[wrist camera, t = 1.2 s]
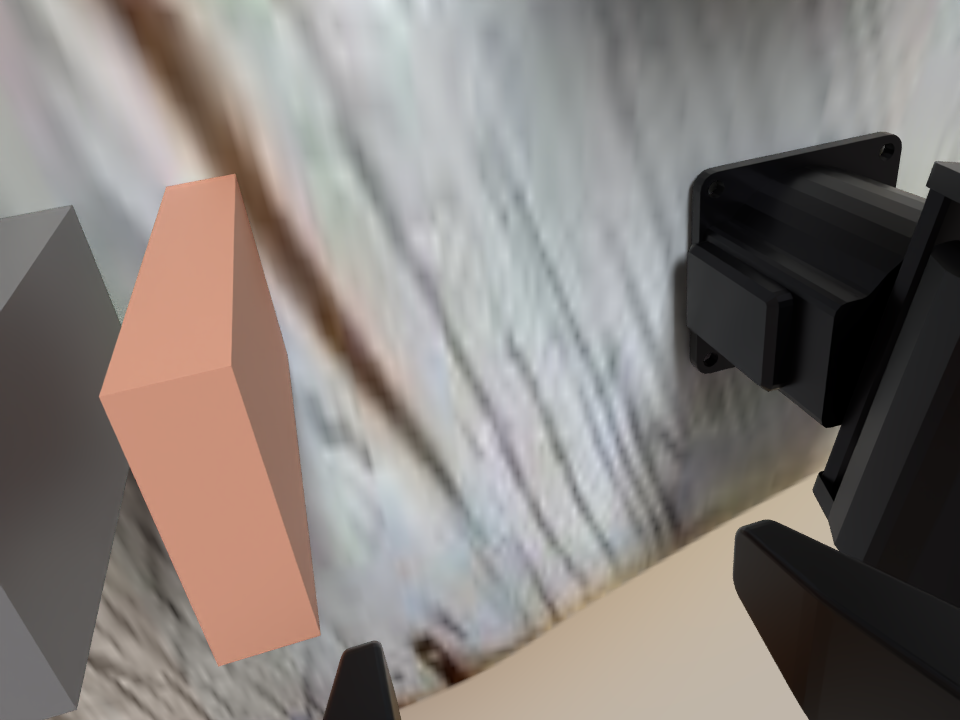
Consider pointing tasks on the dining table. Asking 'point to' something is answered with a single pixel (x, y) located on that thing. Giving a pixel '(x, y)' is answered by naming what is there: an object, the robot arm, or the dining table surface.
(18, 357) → the domino
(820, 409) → the robot arm
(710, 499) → the dining table surface
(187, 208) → the domino
